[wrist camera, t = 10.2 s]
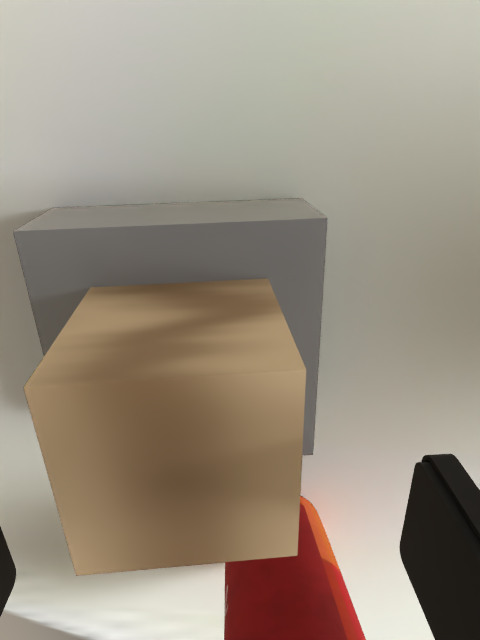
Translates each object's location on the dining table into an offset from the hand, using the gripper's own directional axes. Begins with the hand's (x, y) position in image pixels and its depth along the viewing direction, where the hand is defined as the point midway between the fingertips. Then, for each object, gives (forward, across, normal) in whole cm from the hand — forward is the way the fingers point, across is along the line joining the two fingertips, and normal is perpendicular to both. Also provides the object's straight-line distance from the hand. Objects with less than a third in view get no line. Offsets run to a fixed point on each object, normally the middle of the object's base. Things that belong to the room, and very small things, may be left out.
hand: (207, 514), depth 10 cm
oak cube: (+7, +1, 0) cm, 7 cm away
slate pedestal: (+11, +1, 0) cm, 11 cm away
